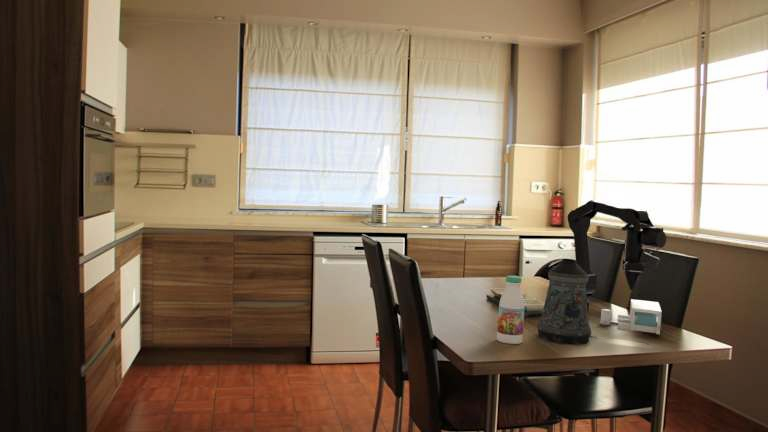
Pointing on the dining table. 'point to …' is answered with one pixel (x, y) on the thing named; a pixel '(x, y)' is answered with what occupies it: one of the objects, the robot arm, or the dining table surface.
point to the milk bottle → (511, 312)
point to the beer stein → (566, 306)
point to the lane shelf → (640, 306)
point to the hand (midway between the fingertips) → (630, 288)
